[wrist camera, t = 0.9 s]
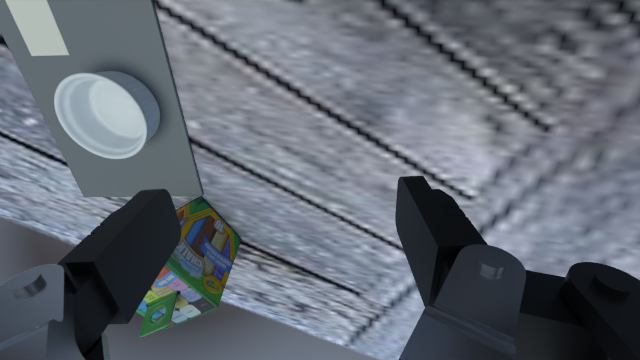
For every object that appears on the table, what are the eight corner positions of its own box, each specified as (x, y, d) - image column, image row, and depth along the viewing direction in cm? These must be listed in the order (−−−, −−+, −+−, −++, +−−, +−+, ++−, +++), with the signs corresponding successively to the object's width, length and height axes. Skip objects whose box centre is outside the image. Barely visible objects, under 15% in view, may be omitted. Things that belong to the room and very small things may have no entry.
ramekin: (76, 117, 34) (45, 131, 30) (94, 47, 30) (61, 53, 27) (152, 156, 36) (132, 173, 33) (177, 96, 33) (158, 107, 29)
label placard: (-21, -19, 28) (-25, -19, 28) (146, -24, 28) (144, -24, 27) (86, 195, 40) (83, 196, 40) (203, 194, 40) (202, 195, 39)
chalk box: (201, 194, 40) (142, 283, 27) (244, 239, 44) (210, 336, 31) (153, 222, 42) (78, 315, 30) (197, 262, 46) (148, 360, 33)
